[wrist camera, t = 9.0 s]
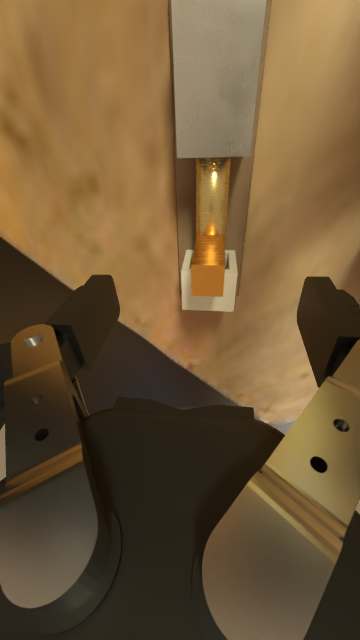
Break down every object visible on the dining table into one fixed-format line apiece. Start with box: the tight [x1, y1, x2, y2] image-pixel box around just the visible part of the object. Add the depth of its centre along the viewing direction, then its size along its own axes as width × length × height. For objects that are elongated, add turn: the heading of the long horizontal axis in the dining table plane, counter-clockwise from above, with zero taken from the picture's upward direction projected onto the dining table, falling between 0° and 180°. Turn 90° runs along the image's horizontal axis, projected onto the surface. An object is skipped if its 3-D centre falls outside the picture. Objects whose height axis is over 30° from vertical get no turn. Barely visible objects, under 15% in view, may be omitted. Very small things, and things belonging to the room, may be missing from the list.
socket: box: [181, 250, 238, 312], centre depth 32 cm, size 6×5×6 cm
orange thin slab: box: [191, 157, 231, 297], centre depth 25 cm, size 3×17×10 cm, turn 2°
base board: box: [169, 0, 272, 296], centre depth 29 cm, size 8×28×1 cm, turn 2°
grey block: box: [171, 0, 266, 158], centre depth 21 cm, size 6×11×6 cm, turn 2°
